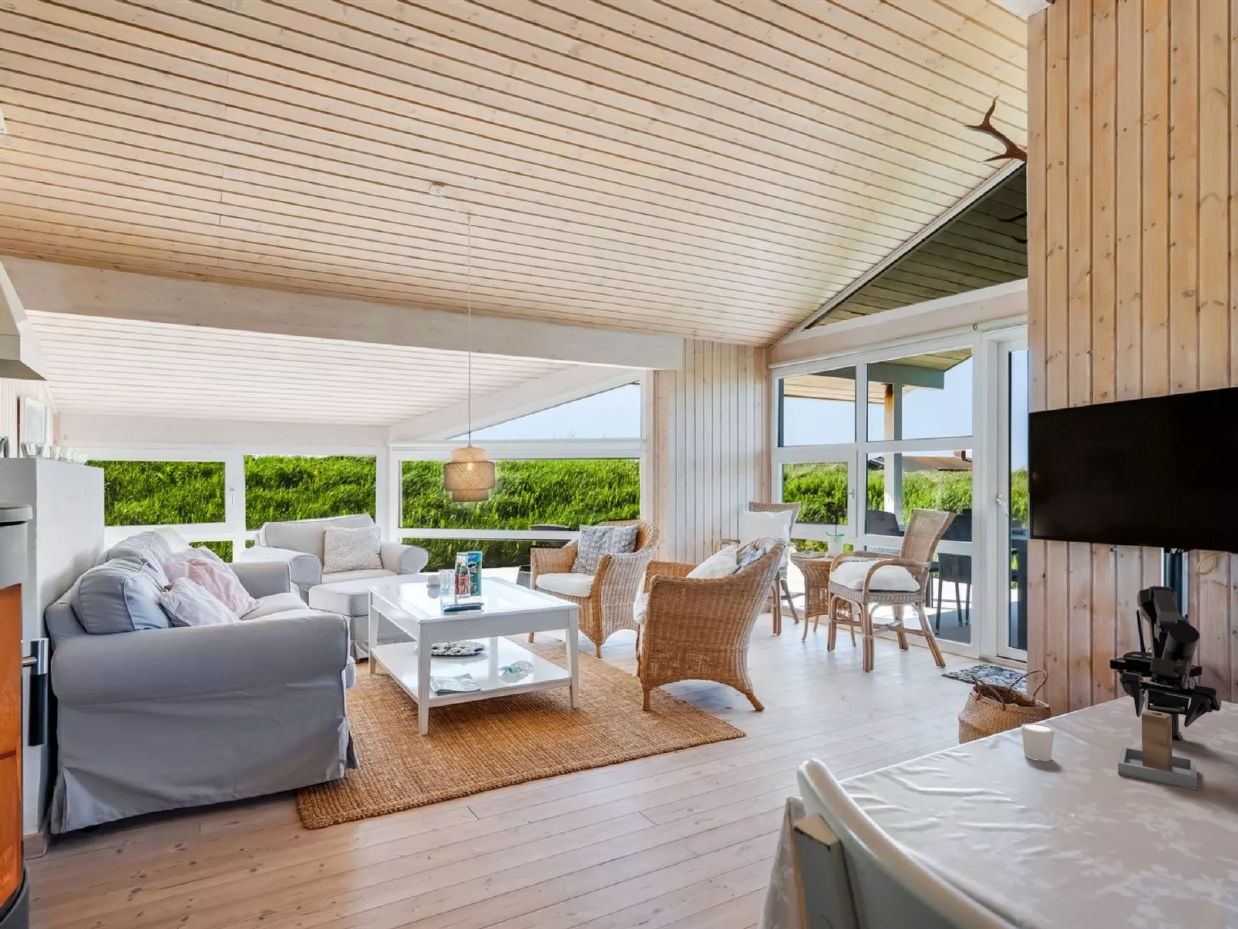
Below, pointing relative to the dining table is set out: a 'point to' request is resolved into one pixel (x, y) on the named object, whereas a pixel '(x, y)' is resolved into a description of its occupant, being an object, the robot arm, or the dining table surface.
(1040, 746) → the white cup
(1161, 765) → the walnut block
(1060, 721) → the dining table surface
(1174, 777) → the grey tray
